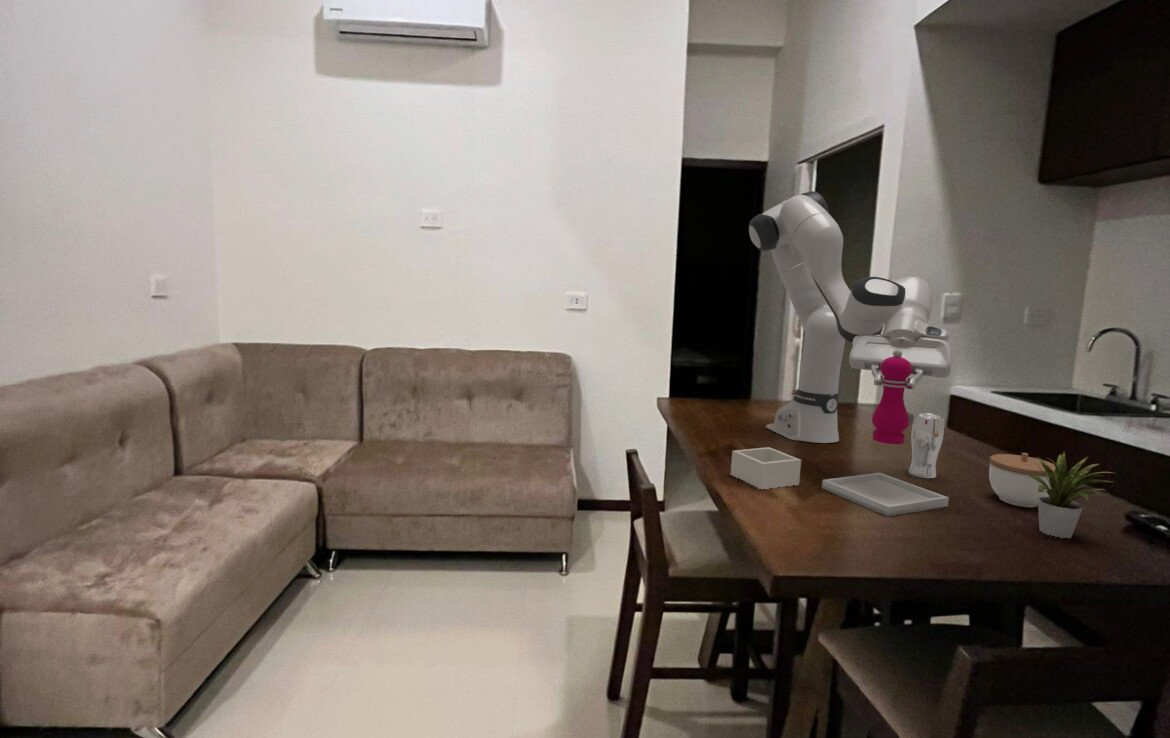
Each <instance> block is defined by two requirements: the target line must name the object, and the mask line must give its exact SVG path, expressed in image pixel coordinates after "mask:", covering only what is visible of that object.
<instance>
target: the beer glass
mask: <svg viewBox="0 0 1170 738" xmlns="http://www.w3.org/2000/svg"><path fill="white" fill-rule="evenodd" d="M911 426H912V427H911V433H910V436H911V439H910V441H911V442H910V443H911V463H910V466H909V469H908V474H910V475H911V476H914V477H917V478H921V479H935V478H936V477H937V469H936V465H937V459H938V455H939V453H940V449H941V446H942V444H943V440H944V434H945V433H944V432H945V417H944V416H943V415H939V414H934V413H928V412H916V413H914V416H913V421H912V425H911Z"/></svg>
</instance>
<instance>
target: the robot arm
mask: <svg viewBox="0 0 1170 738" xmlns="http://www.w3.org/2000/svg"><path fill="white" fill-rule="evenodd" d="M748 232H749V237H750V240H751V242H752V244H753V245H754V246H755V247H756V249H758V250H760V251H762V252H768V251H771V254H772V255H771V256H772V259H773V261H774V265H775V267H776V269H777V272H778V274H779V277H780V279H781V281H782V284H783V286H784V288H785V290H786V292H787V295H788V297H789V299H790V303H791V304H792V306H793V309H794V311H795V313H796V316H797V318H798V320H799V322H800V325H801V327H802V329H803V332H804V339H803V346H802V353H801V362H800V370H799V379H798V388H797V389H793V390H791V393H790V394H791V395H794V396H793V398H792V399H793V400H791V401H790V402H788V403H786V404H785V405H784V406H782V407H780V408H779V409H777V410H776V413H775V417H774V422H773V423H772V422H771V423H769V424H768V423H767V424H765V425H766V426H765V428H766V429H767V428H768V429H767V430H769V429H770V430H769V431H771V430H772V431H771V432H773V431H774V433H775V432H776V433H775V434H777V433H778V434H777V435H779V434H780V435H779V436H781V435H782V436H781V437H783V436H784V438H785V437H786V439H787V438H788V440H790V439H791V441H801V442H806V443H818V444H830V443H831V444H832V443H836V442H840V437H839V429H838V410H837V409H838V406H839V400H840V393H839V383H840V375H841V366H842V360H843V355H844V350H845V344H846V341H847V342H850V343H851V345H852V348H851V350H850V352H849V356H848V361H849V365H850V367H851V368H852V369H855V370H863V371H864V370H865V371H871V375H872V376H873V378H874V379H873V385H874V386H880V387H882V386H883V385H882V384H881V383H882V379H883V378H884V376H883V374H880V372H881V364H882V362H883V361H884V360H885V359H887V358H889V357H894V355H893V352H894V351H895V350H901V351H902V356H901V357H902V358H905V359H906V360H908V361H909V362H910V364H911V368H912V370H911V374H910V375H913V377H912V378H911V377H907V387H906V389H907V390H915V387H916V384H918V383H919V382H920V381H921V380H922V379H923V377H934V378H947V377H949V376H950V375H951V371H952V348H951V344H950V343H949V333H948V331H947V330H946V329H944V328H941V327H937V326H933V325H931V324H929V323H928V322H929V320H930V318H931V315H932V314H931V313H932V310H933V309H932V308H933V292H932V289H931V286H930V285H929V283H928V282H927V281H926V280H924V279H922V278H920V277H918V276H917V277H916V276H904V277H902V278H899V279H894V280H893V279H887V278H885V277H884V278H883V277H879V276H867V277H862V278H860V279H858V280H856V281H855V282H854V283H853V284H852V286H851V289H850V287H848V285H847V283H846V282H845V279H844V276H843V271H842V260H843V259H842V257H843V250H844V249H843V248H844V236H843V233H842V230H841V228H840V225H839V224H838V222H836V220H835V219H834V218H833V217H832V215H831V214H830V213H829V207H828V204H827V202H826V200H825V198H824V197H823V196H822V194H821V193H819V192H818V191H814V190H813V191H807V192H803V193H801V194H797V195H794V196H791V197H789V198H788V199H786V200H784V201H781V202H779V204H776V205H774V206H773V207H771V208H769V209H767V210H765V211H764V212H763V213H759V214H757V215H756V216H754V217H753V218H752V219H751V220H750V221H749V224H748Z"/></svg>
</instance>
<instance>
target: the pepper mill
mask: <svg viewBox="0 0 1170 738" xmlns="http://www.w3.org/2000/svg"><path fill="white" fill-rule="evenodd" d="M893 355H894V357H889V358H887V359H885V360H884V361H883V362H882V364H881V371H880V373H881V375H883V379H882V383H881V384H882V386H883V387H882V389H883V390H882V394H881V395H882V396H881V399H880V401H879V403H878V405H877V406H876V408H875V410H874V412H873V413H872V417H871V423H872V425H873V426H874V427H875V429H874V430H873V431H872V440H874V441H875V442H878V443H882V444H888V445H902V444H904V443H905V437H906V436H905V433H903V432H904V431H905V430H906V429H908V427H909V421H910V420H909V414H908V411H907V409H906V406H905V401H904V398H905V397H904V393H905V389H906V388H907V381H908V378H909V376H910V375H912V374H911V370H912V368H911V364H910V362H909V361H908V360H906V359H905V358H902V357H901V356H902V351H901V350H895V351H894V352H893Z"/></svg>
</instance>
